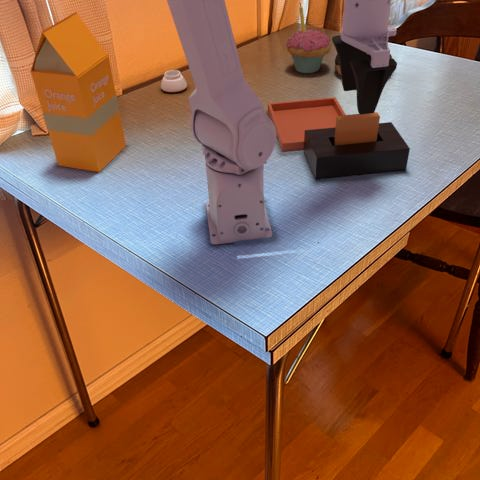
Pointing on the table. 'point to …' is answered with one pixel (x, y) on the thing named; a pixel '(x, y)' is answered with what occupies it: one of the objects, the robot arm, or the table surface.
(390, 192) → the table surface
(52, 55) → the orange juice
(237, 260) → the table surface
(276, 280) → the table surface
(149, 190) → the table surface
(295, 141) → the red tray
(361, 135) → the toast
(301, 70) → the cupcake
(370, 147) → the toaster
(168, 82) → the lidless jar
